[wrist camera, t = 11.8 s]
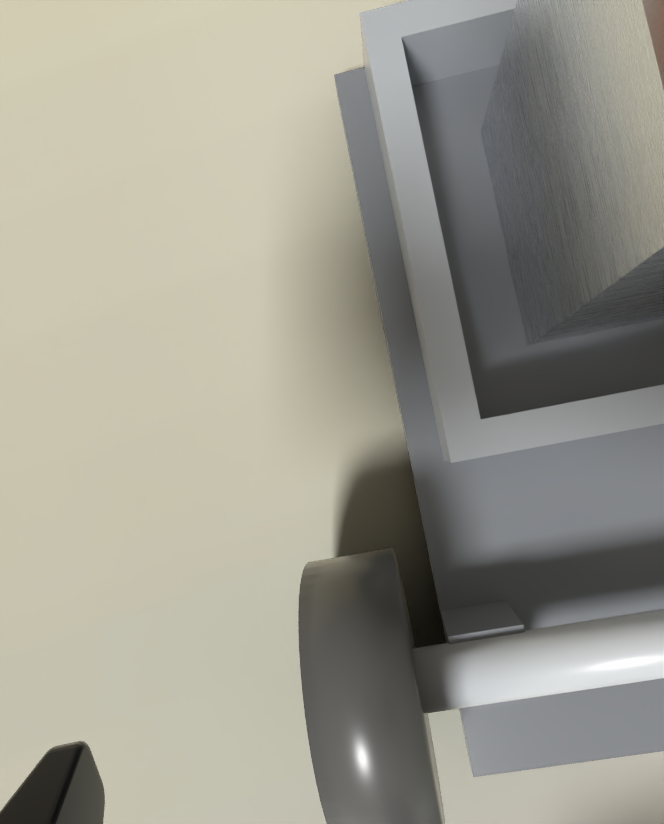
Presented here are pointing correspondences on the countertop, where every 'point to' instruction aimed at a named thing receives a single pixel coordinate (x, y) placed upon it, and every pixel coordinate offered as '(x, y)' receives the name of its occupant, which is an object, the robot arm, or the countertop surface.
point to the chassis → (483, 468)
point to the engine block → (581, 163)
